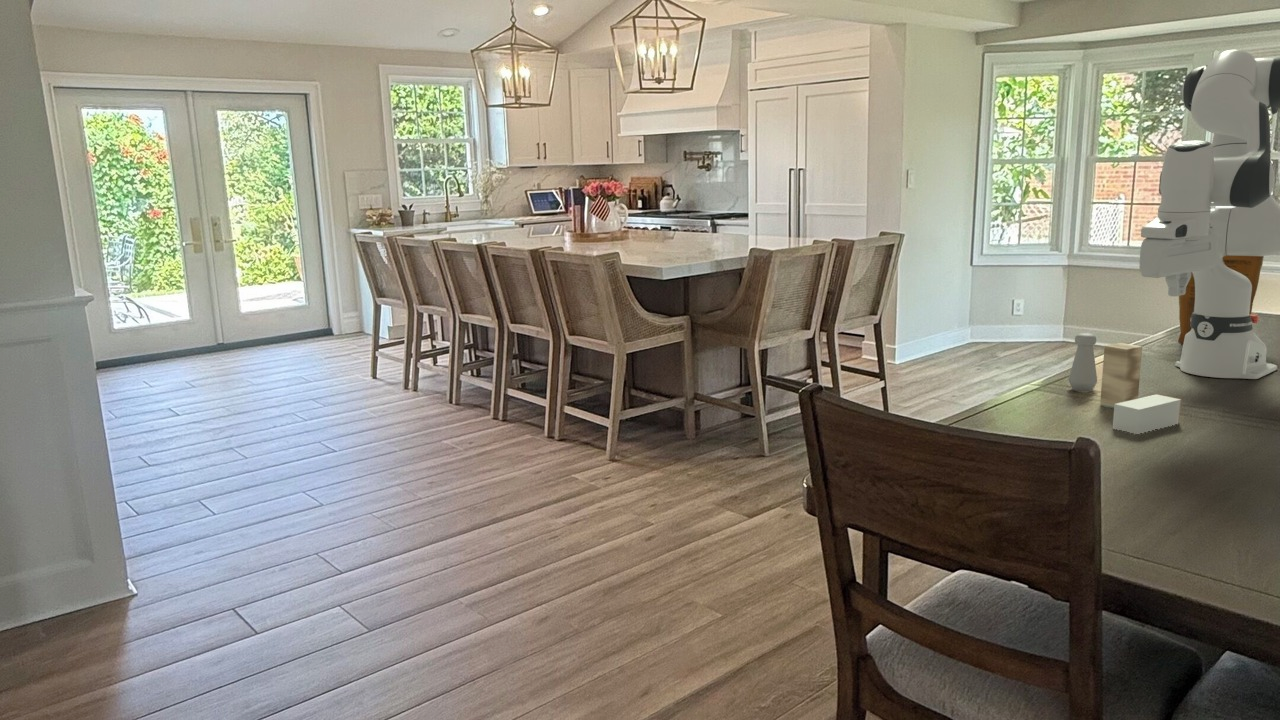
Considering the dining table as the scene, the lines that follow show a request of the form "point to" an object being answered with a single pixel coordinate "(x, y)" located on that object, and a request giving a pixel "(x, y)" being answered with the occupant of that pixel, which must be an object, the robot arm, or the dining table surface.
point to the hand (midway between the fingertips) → (1176, 295)
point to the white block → (1146, 414)
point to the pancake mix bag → (1241, 264)
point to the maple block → (1120, 373)
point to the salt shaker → (1084, 364)
